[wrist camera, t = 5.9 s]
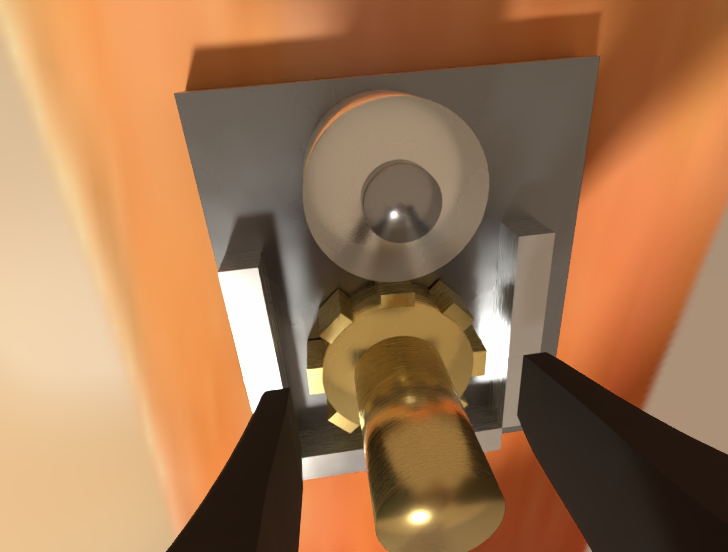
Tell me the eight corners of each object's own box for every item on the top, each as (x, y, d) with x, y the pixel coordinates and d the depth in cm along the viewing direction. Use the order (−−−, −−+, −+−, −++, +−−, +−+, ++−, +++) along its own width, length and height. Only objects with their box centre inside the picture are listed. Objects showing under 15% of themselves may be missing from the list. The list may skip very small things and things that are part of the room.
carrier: (533, 408, 17) (594, 500, 14) (269, 447, 17) (259, 555, 13) (578, 56, 12) (700, 54, 8) (184, 91, 11) (124, 104, 7)
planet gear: (464, 397, 15) (548, 578, 10) (316, 414, 15) (320, 612, 10) (475, 262, 13) (592, 404, 8) (299, 277, 13) (292, 439, 7)
